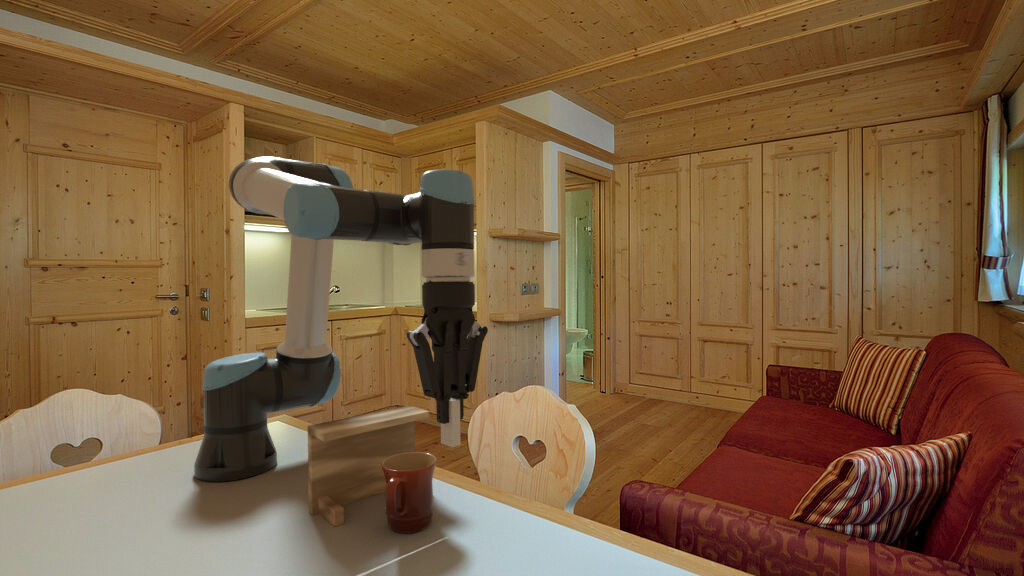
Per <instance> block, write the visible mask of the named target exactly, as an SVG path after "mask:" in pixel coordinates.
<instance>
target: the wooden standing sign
mask: <svg viewBox="0 0 1024 576" xmlns="http://www.w3.org/2000/svg"><path fill="white" fill-rule="evenodd" d="M429 418H430V411H428V410H425V409H423V408H419V407H416V406H413V405H406V406H400V407H396V408H391V409H386V410H381V411H376V412H369V413H366V414H360V415H355V416H350V417H346V418H341V419H335V420H331V421H330V420H329V421H326V422H325V421H324V422H321V423H315V424H311V425H307V469H308V471H307V472H308V473H307V474H308V476H307V478H308V479H307V480H308V482H307V483H308V513H309V514H311V516H314V515H317V514H319V515H320V516H321V517H322V518H323V519H324V520H326V521H327V522H329V523H330V524H331V525H333V526H334V527H338V526H341V525H343V524H345V516H344V515H345V509H344V507H343V506H344V505H348V504H350V503H353V502H357V501H360V500H362V499H366V498H369V497H372V496H375V495H378V494H382V493H385V489H386V480H385V476H384V472H383V469H382V466H381V463H382V461H383V460H384V459H386V458H387V457H390V456H392V455H396V454H400V453H407V452H416V451H415V450H416V445H415V444H416V442H415V439H416V437H415V436H416V435H415V422H417V421H421V420H425V419H426V420H427V419H429Z"/></svg>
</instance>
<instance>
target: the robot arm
mask: <svg viewBox="0 0 1024 576" xmlns="http://www.w3.org/2000/svg"><path fill="white" fill-rule="evenodd" d="M420 178H421V179H420V186H419V192H416V193H411V194H400V193H392V192H385V191H378V190H376V191H375V190H368V189H357V188H354V185H353V182H352V180H351V177H350V176H349V174H348V173H347V172H346V171H345V170H344V169H342V168H340V167H338V166H333V165H330V164H329V165H328V164H325V163H316V162H309V161H304V160H303V161H302V160H295V159H288V158H282V157H276V156H258V157H252V158H248V159H246V160H244V161H241V162H240V163H238V164H237V165H236V166H235V167H234V168H233V169H232V171H231V173H230V175H229V179H228V189H229V193H230V195H231V197H232V198H233V200H234V201H235V202H236V204H237V205H239V206H240V207H241V208H243V209H245V210H247V211H248V212H251V213H254V214H257V215H258V214H259V215H269V216H274V217H276V218H279V219H281V220H283V221H284V223H283V224H284V226H285V227H286V228H287V231H288V232H289V233H290V234H291V235H290V236H291V237H290V250H289V252H290V253H289V254H290V255H289V269H288V270H289V271H288V282H287V283H288V285H287V299H286V315H285V316H286V317H285V331H284V340H283V341H282V342H281V343H280V344H278V345H277V346H276V353H275V354H276V356H275V357H271V358H268V356H267V354H266V353H264V352H260V351H259V352H249V353H239V354H235V355H230V356H225V357H222V358H219V359H216V360H214V361H211V362H210V363H208V364H207V365H206V366H205V367H204V370H203V377H202V378H203V379H202V381H203V382H202V386H201V389H202V391H203V397H202V398H203V399H202V400H203V438H202V441H201V444H200V447H199V449H198V452H197V456H196V458H195V462H194V468H193V469H194V470H193V471H194V477H195V479H197V480H199V481H204V482H218V483H219V482H229V481H230V482H231V481H237V480H242V479H247V478H251V477H254V476H258V475H261V474H262V473H266V472H267V471H270V470H271V469H273V468H274V467H275V466H276V465H277V463H278V457H277V456H278V452H277V449H276V446H275V444H274V441H273V438H272V436H271V434H270V430H269V426H268V414H270V413H276V412H282V411H288V410H293V409H294V410H295V409H300V408H306V407H309V408H310V407H316V406H318V405H320V404H324V403H327V402H328V403H329V401H330V400H332V399H333V398H334V397H335V396H336V394H337V392H338V390H339V388H340V385H341V378H342V377H341V376H342V369H341V368H340V366H341V363H340V362H341V361H340V359H339V357H338V355H337V354H336V353H334V352H333V347H332V345H330V344H329V343H328V342H327V332H328V321H329V319H328V318H329V310H330V309H329V306H330V297H331V296H330V293H331V279H332V267H333V256H334V243H335V241H334V240H336V241H338V240H341V241H360V242H361V241H362V242H375V243H387V244H389V245H393V246H395V245H396V246H410V245H412V244H417V243H421V277H422V278H423V279H425V282H423V284H421V302H422V303H421V304H422V307H423V311H424V312H423V316H422V317H421V322H420V323H421V324H420V325H419V326H418V327H417V328H415V330H409V331H407V332H406V338H407V340H408V341H409V343H410V344H411V346H412V349H413V352H414V356H415V361H416V365H417V370H418V375H419V378H420V379H419V380H420V384H421V387H422V388H421V389H422V391H423V394H424V396H425V397H428V398H432V399H435V402H436V405H435V406H436V408H435V409H436V421H437V422H438V423H440V444H443V445H445V446H447V447H450V448H455V447H458V446H461V420H463V418H464V417H465V416H464V415H465V412H464V410H465V409H464V408H465V407H464V400H466V399H468V398H469V393H472V392H474V391H475V390H476V389H475V388H476V384H477V378H478V374H479V368H480V367H479V366H480V361H481V355H482V349H483V343H484V340H485V338H486V336H487V334H488V331H489V329H488V326H486V325H480V324H479V323H478V322H477V321H476V316H475V314H474V312H473V308H474V306H475V305H476V291H475V290H476V287H475V285H476V283H474V282H473V281H471V278H474V277H475V203H476V202H475V201H476V200H475V197H474V187H473V185H474V184H473V179H472V177H471V175H470V174H469V173H467V172H465V171H462V170H457V169H456V170H455V169H433V170H427V171H425V172H423V174H422V176H421V177H420ZM429 340H431V344H430V342H428V341H429Z"/></svg>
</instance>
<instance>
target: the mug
mask: <svg viewBox="0 0 1024 576" xmlns="http://www.w3.org/2000/svg"><path fill="white" fill-rule="evenodd" d="M437 462H438V459H437V457H436V456H435V455H434V454H431V453H428V452H421V451H415V452H407V453H400V454H396V455H392V456H390V457H387V458H386V459H384V460H383V461H382V463H381V466H382V469H383V472H384V476H385V480H386V489H385V491H384V503H385V515H386V522H387V526H388V527H389V528H390V529H391V530H392V531H393V532H396V533H399V534H412V533H413V534H414V533H416V532H419V531H422V530H424V529H425V528H427V527H428V526H429V525H430V524H431V523H432V521H433V520H432V519H433V516H434V489H433V487H434V486H433V479H434V473H435V469H436V465H437Z"/></svg>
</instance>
